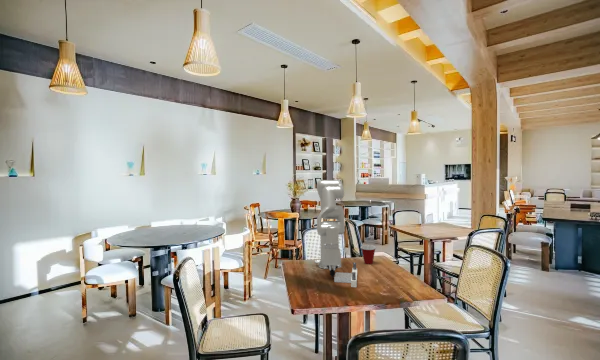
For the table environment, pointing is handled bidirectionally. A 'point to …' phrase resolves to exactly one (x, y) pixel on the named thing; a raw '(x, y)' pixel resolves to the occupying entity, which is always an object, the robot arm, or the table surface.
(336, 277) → the metal plate
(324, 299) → the table surface
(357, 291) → the table surface
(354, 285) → the bar
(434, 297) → the table surface
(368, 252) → the plastic cup
